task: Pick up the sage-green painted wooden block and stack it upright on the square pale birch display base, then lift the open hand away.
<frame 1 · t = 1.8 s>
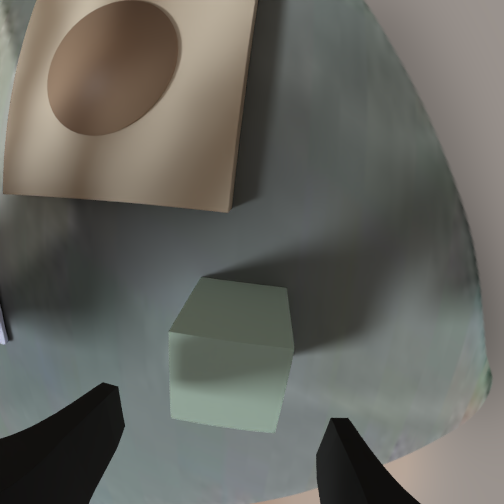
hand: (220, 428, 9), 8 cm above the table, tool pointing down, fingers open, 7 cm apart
green block: (239, 320, 17), on the table
display base: (118, 70, 14), on the table
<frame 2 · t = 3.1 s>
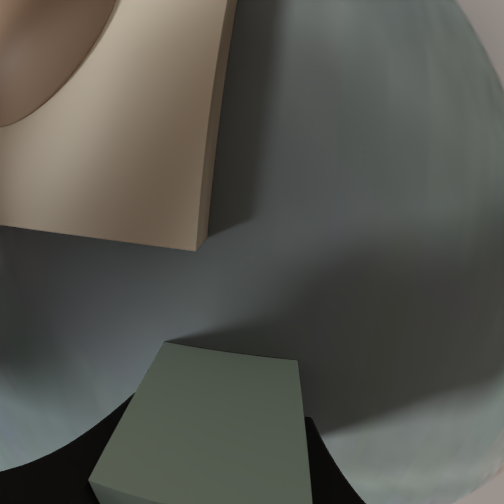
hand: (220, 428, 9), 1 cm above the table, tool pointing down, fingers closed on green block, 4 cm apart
green block: (225, 401, 11), on the table, touching gripper
display base: (47, 32, 8), on the table
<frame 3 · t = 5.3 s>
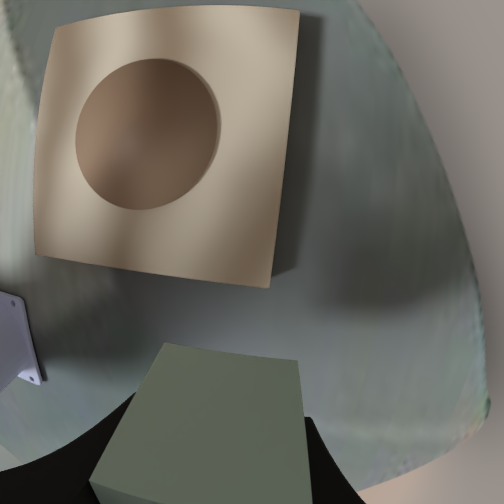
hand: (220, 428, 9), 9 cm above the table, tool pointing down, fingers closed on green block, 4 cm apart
green block: (225, 401, 11), point 7 cm above the table, touching gripper
display base: (151, 134, 15), on the table
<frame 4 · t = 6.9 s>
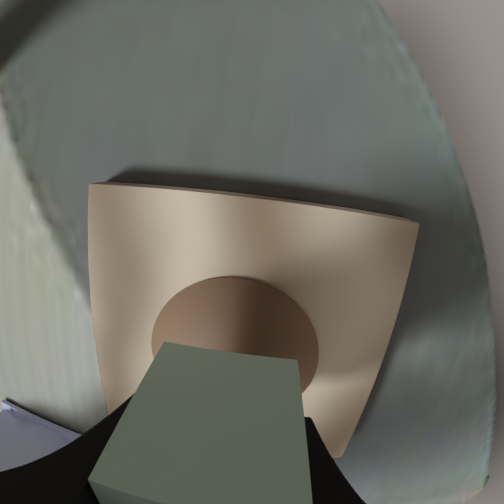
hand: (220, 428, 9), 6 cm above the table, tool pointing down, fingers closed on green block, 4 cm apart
green block: (225, 401, 11), point 5 cm above the table, touching gripper
display base: (236, 339, 15), on the table
when the fingers open (4 cm above the table, at t = 7.8 s): green block drops 1 cm, resting on display base.
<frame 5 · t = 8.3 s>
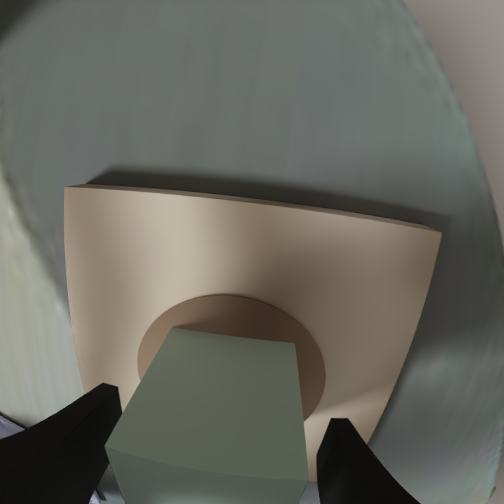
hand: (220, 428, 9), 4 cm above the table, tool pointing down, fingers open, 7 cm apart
green block: (228, 383, 12), point 2 cm above the table, touching display base
display base: (233, 360, 13), on the table
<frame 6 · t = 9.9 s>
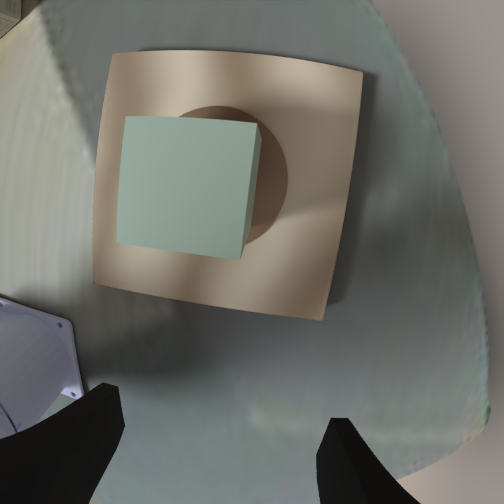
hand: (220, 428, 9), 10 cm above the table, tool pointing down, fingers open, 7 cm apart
green block: (212, 178, 16), point 2 cm above the table, touching display base
display base: (217, 177, 18), on the table
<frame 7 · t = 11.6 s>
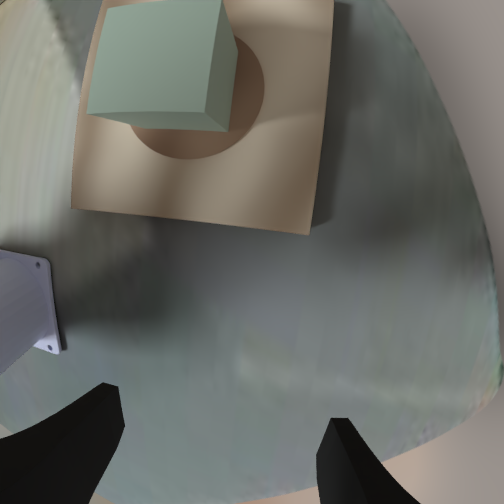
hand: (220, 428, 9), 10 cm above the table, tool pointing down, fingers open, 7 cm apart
green block: (190, 88, 15), point 2 cm above the table, touching display base
display base: (197, 95, 16), on the table
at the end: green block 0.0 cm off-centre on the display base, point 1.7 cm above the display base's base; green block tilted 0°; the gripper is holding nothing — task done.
